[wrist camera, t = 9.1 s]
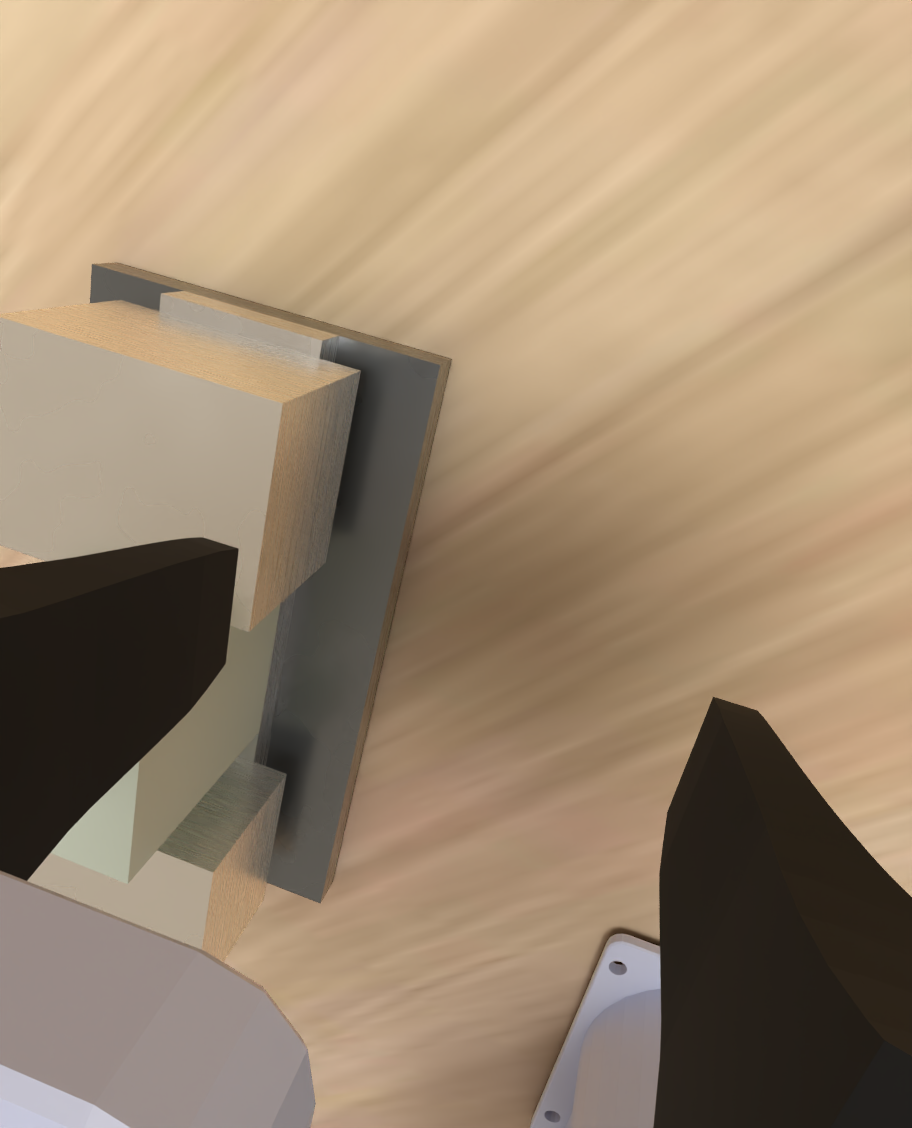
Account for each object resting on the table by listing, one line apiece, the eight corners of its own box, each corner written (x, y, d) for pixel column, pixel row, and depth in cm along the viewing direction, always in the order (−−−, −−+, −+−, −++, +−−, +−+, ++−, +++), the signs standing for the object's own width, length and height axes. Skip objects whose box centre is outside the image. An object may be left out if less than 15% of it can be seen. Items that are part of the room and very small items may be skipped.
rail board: (332, 881, 27) (243, 1042, 22) (85, 785, 28) (-57, 914, 23) (451, 359, 20) (364, 405, 15) (117, 262, 21) (-77, 272, 16)
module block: (259, 731, 23) (127, 883, 18) (129, 683, 24) (-38, 817, 18) (285, 570, 21) (146, 686, 16) (142, 522, 22) (-40, 618, 16)
